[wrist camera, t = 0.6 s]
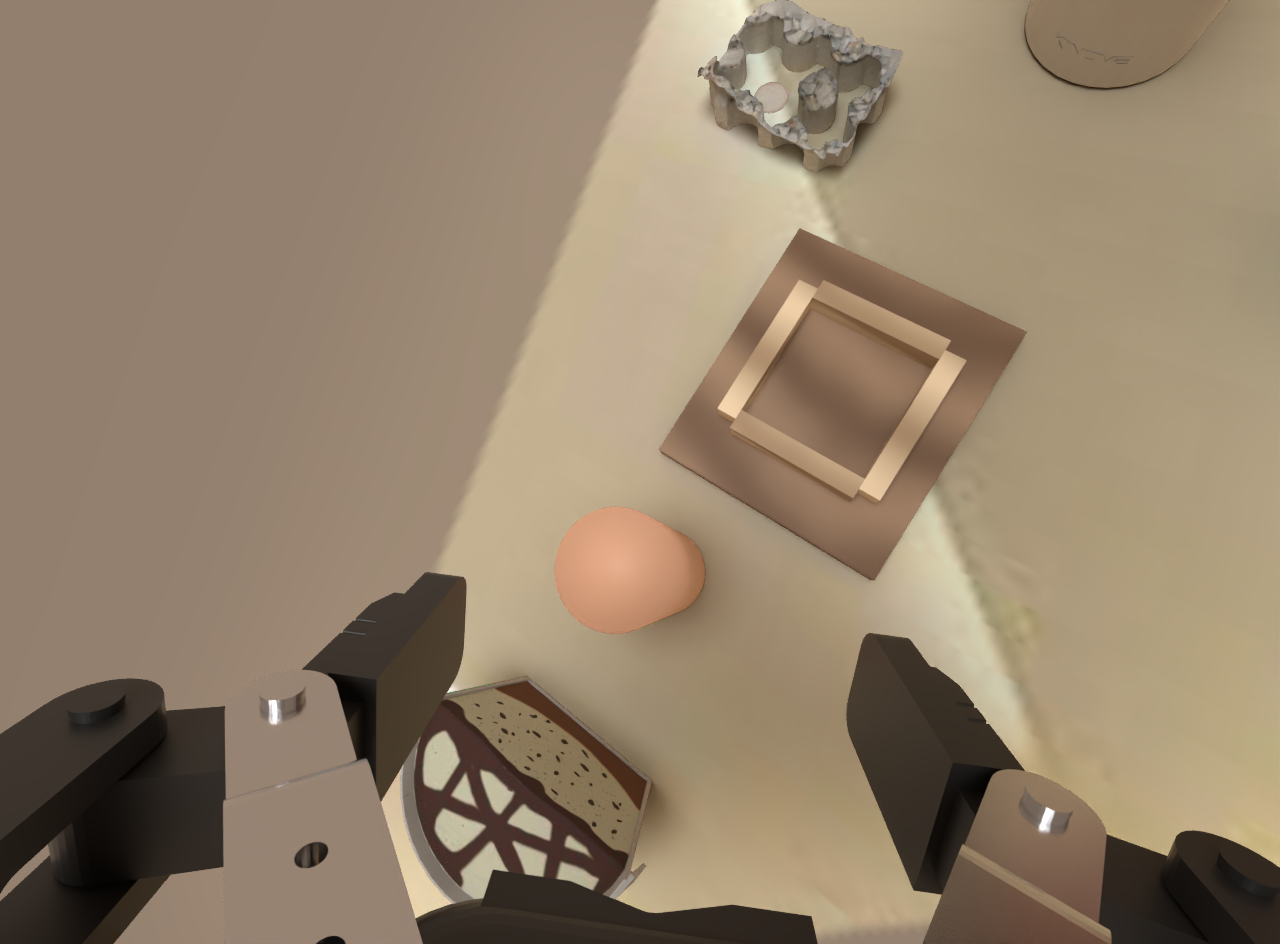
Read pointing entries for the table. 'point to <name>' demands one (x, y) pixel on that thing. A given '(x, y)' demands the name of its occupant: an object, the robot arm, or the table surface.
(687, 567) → the terracotta pin
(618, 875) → the food container
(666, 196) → the table surface
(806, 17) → the egg carton
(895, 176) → the table surface
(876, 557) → the board
